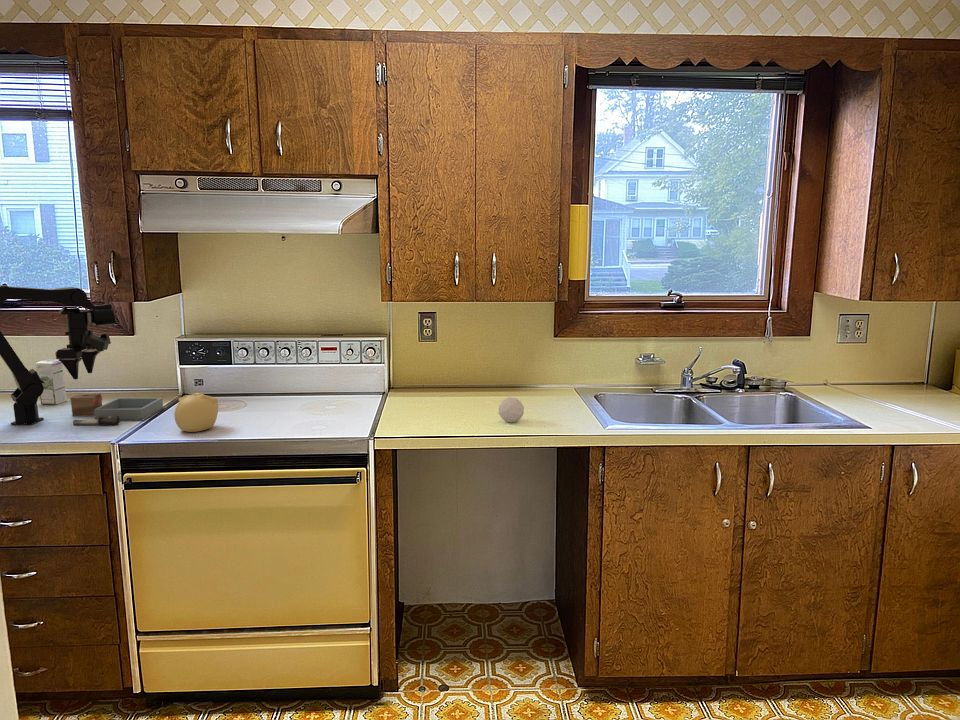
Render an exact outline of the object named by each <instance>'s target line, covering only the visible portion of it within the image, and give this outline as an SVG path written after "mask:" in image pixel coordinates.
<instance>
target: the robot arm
mask: <svg viewBox="0 0 960 720" xmlns="http://www.w3.org/2000/svg"><path fill="white" fill-rule="evenodd" d="M8 300H18V301H19V300H21V301H23V300H24V301H37V302H39V301H40V302H53V303H58V304H61V305H62V308H60V310H59V311H58V312H57V313H58V314H59V315H63V316H64V315H65V316H66V324H67V325H66V327H67V331H64V334H65V335H64V336H67V337H68V344H66V347H62V348H59V349H58V350H56V352H55V354H54V355H55V360H59V361H61V362H62V364H63V367H64V368H65V369H66V370H67V371H68V373H69V375H71V377H72V379H73V380H78V379H79V367H80V366H79V363H80V362H81V361H82V362H83V365H84V367H85V369H86V372H87V374H93V369H94V366H95V361H96V357H97V356H98V355H100V353H101V352H104V351H105V350H106V351H107V350H108V348H109V345H110V344H111V343H112V340H111V339H110V334H108V333H105V332H104V333H102V334H100V335H95V334H94V333H93V330H92V329H89V324H92V325H93V326H94V327H104V326H113V325H115V323H116V316H115V315H116V314H115V312H114V309H113V308H112V304H111V303H104V304H93V303H92V302H91V301H90V300H89V299H88V295H87V293H86V291H84V290H83V289H82V288H78V287H75V286H68V287H59V288H58V287H57V288H38V287H24V286H22V287H21V286H8V285H3V284H1V285H0V306H2V305H3V304H4V303H5V302H6V301H8ZM63 305H64V306H63ZM65 305H66V306H65ZM67 306H69V307H70V308H69V307H67ZM71 307H72V308H71ZM79 307H81V308H83V309H85V310H80V308H79ZM0 358H1V359H2V360H3V362H4V364H5V365H6V366H7V368H8V369H9V370H10V372H11V374H12V377H13V380H14V383H15V385H16V387H17V388H16V389H14V391H13V392H12V393H11V394H10V398H11V399H12V401H13V402H14V403H13V404H12V405H13V413H14V414H13V415H14V420H13V421H12V422H10V425H13V426H14V425H15V426H16V425H18V426H19V425H22V426H23V425H26V426H28V425H30V426H31V425H33V424H37V423H38V422H40V421H42V420H44V417H43V416H42V417H41V416H39V408H38V400H39V398H40V395H41V394H42V393H43V390H44V387H43V384H42V383H44V382H43V381H42V380H41V379H40V378H39V376H38V374H37V370H35V369H34V368H31V369H30V370H28V368H27V367H26V366H25V365H24V363H23V362H22V360H21V359H20V357H19V356H18V355H17V353H16V351H15V350H14V349H13V347H12V346H11V344H10V343H9V341H8V340H7V339H6V337H5V336H4V334H3V332H2V331H1V330H0Z"/></svg>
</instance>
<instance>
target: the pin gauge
mask: <svg viewBox="0 0 960 720" xmlns="http://www.w3.org/2000/svg"><path fill="white" fill-rule="evenodd" d="M119 424H120V420H119V417H118V416H100V417H99V419H98V420H95V419H73V420H72V425H73V426H118V425H119Z"/></svg>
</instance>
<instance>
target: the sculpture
mask: <svg viewBox="0 0 960 720" xmlns="http://www.w3.org/2000/svg"><path fill="white" fill-rule="evenodd" d="M218 414H219V400H218V398H217V397H213V396H210V395H205V394H204V393H202V392H195V393H193V394H186V395H185V394H184V396H182V397H180V398H178V403H177V405H176V407H175V410H174V421H175V424H176V426H177V427H178V428H179V429H180V430H181V431H184V432H187V433H189V432H190V433H194V432H195V433H196V432H201V431H205V430H208V429H211V428H213V427H214V425H215V423H216V421H217V418H218Z"/></svg>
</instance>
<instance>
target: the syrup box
mask: <svg viewBox="0 0 960 720" xmlns="http://www.w3.org/2000/svg"><path fill="white" fill-rule="evenodd" d="M35 369H36V370H35V371H36V372H37V374H38V376H39V378H40V379H41V380H42V381H43V382H44V383H42V384H43V387H44V390H43V393H42V394H41V395H40V396H39V398H40V399H39V400H40V404H41V405H60V404H62V403H65V402H67V401H68V400H67V399H68V398H67V397H68V396H67V393H66V392H67V391H66V384H65V383H66V382H65V373H64V365H63V364H62V362H61V361H59V359H43V360H39V361H37V362H35Z"/></svg>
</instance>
